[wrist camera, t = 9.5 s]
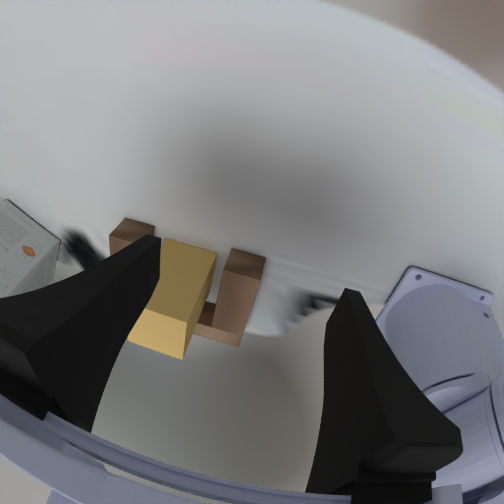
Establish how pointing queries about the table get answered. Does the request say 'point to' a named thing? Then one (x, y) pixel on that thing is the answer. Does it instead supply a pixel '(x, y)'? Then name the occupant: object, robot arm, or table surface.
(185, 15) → the table surface
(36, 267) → the small box
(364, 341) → the robot arm
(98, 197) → the table surface
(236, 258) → the notched board
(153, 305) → the ochre block
